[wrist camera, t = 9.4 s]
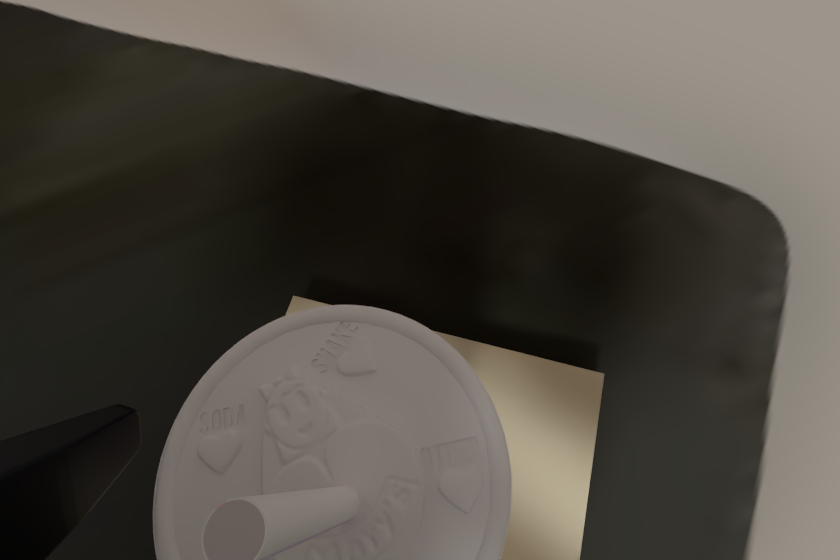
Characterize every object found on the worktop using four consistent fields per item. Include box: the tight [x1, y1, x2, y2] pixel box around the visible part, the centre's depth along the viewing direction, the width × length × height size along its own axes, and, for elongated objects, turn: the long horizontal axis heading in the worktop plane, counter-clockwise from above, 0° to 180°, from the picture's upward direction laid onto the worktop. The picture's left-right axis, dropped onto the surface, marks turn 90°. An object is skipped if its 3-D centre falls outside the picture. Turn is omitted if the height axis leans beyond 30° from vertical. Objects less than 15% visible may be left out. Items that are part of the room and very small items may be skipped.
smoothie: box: [153, 305, 512, 560], centre depth 10 cm, size 6×6×14 cm
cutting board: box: [285, 296, 604, 560], centre depth 17 cm, size 13×13×1 cm
